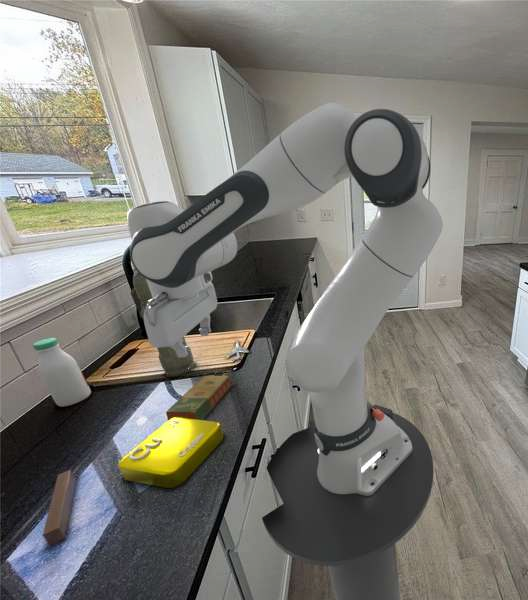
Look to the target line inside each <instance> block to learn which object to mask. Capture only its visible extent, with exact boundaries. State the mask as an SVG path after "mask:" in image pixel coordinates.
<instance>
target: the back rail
mask: <svg viewBox="0 0 528 600" xmlns="http://www.w3.org/2000/svg"><path fill="white" fill-rule="evenodd" d="M76 483H77V478H76V476H75V474H74V473H73V471H72V469H68V470H66V471H64V472H61V473H58V474H57V476H56V481H55V484H54V489H53V492H52V497H51V501H50V504H49V508H48V513H47V517H46V521H45V524H44V528H43V533H42V537H43V539H44V540H45V541H46V542H47V544H48V545H49V546H50V547H52V546H54V545H55V544H57V543H60V542H61V541H63V540H66V539H67V533H68V527H69V522H70V516H71V511H72V506H73V501H74V495H75V491H76V490H75V489H76Z"/></svg>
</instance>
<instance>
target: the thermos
mask: <svg viewBox="0 0 528 600" xmlns="http://www.w3.org/2000/svg"><path fill="white" fill-rule="evenodd" d="M132 285H133V288H132V289H131V291H130V295H131V298H132V301H133V303H134V305H135V307H136V309H137V312H138V315H139V317H140V318H141V319H143V320H144V310H145V309H146V306H147V302H148V301H149V300H151V299H153V297H152V294H151V292H150V289H149V286H148V283H147V281H146V278H144V277H143V276H142V275H141V274H139V273H138V271H136V272H135V273H134V274H133V275H132ZM149 307H150V306H149ZM182 338H183V342H182V344H183V345H184V346H188V347H189V345H187V341H186V337H185V336H184V337H182ZM156 349H157V351H158V360H159V363H160V365H161V368H162V369H163V370H164V373H165V376H167V377H178V376H182V375H184V374H187V373H189V372H190V371H192V370H193V369H195V367H196V363H195V361H194V356H193V353H192V350H191V348H190V347H189V350H190V353H189V354H188V355H187V356H186V357H182V358H179V357H178V356H177V353H176V351H175V350H174V349H172V348H171V347H159V348H156ZM193 363H194V364H193ZM189 367H190V368H189ZM188 368H189V369H188ZM167 373H168V374H167ZM174 373H175V374H174Z"/></svg>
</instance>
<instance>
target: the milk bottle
mask: <svg viewBox="0 0 528 600" xmlns="http://www.w3.org/2000/svg"><path fill="white" fill-rule="evenodd" d="M32 347H33V349H34V350H35V352H36V353H38V366H37V371H38V373H39V375H40V378H41V379H42V381H43V383H44V385H45V387H46V389H47V391H48V392H49V394H50V396H51V398H52V399H53V401H54V403H55V405H56V406H58V407H63V408H64V407H68V406H73V405H75V404H77V403H80V402H82V401H84V400H86V399H88V397H90V395H91V394H92V390H91V387H90V386H89V383H88V382H87V380H86V377H85V376H84V374H83V372H82V370H81V368H80V367H79V364H78V363H77V361H76V360H75V358H73V356H72V355H70V354H69V353H67V352H65V351H64V350H63V349H62V348H60V344H59V341H58V340H57V338H55V337H50V338H44V339H40V340H38V341H36V342H35V343H33V345H32Z"/></svg>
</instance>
